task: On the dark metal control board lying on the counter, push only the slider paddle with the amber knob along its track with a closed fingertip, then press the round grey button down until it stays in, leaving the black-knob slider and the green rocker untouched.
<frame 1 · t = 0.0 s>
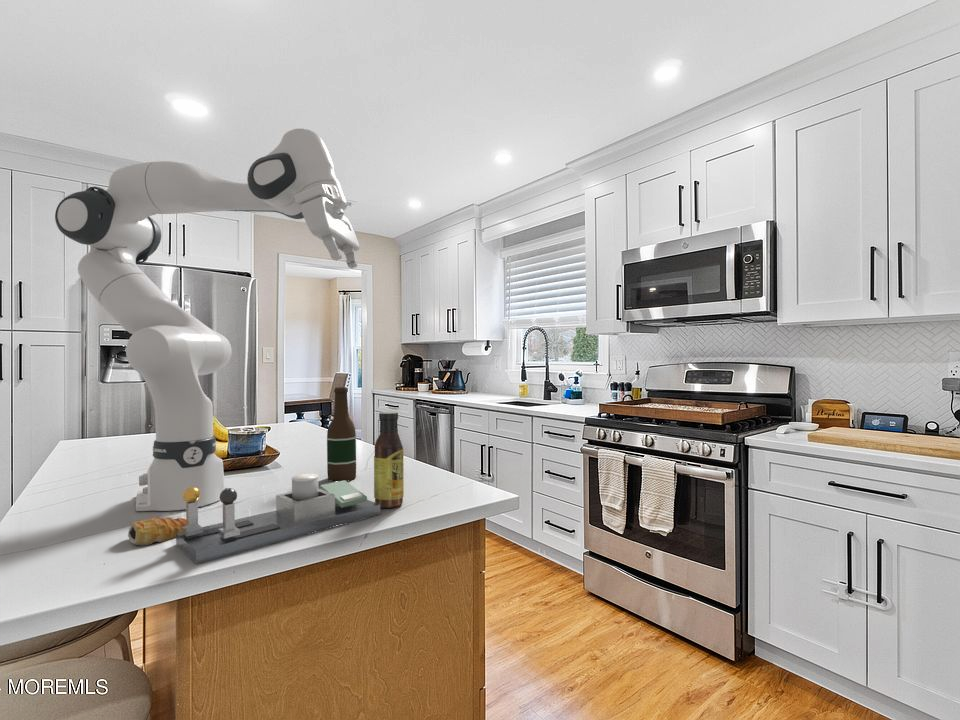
hand: (345, 263, 108), 52 cm above the worktop, tool tilted 20°, fingers open, 8 cm apart
pastry: (156, 539, 90), on the worktop
rocker C: (343, 492, 102), point 4 cm above the worktop, hinge at 12.0°
slider A: (192, 509, 84), point 6 cm above the worktop, slide at 0.0 cm
button B: (305, 488, 96), point 7 cm above the worktop, slide at 0.0 cm
sauce bottle: (389, 505, 108), on the worktop
slider D: (228, 511, 83), point 6 cm above the worktop, slide at 0.0 cm
board: (286, 528, 93), on the worktop
beer bottle: (342, 479, 132), on the worktop
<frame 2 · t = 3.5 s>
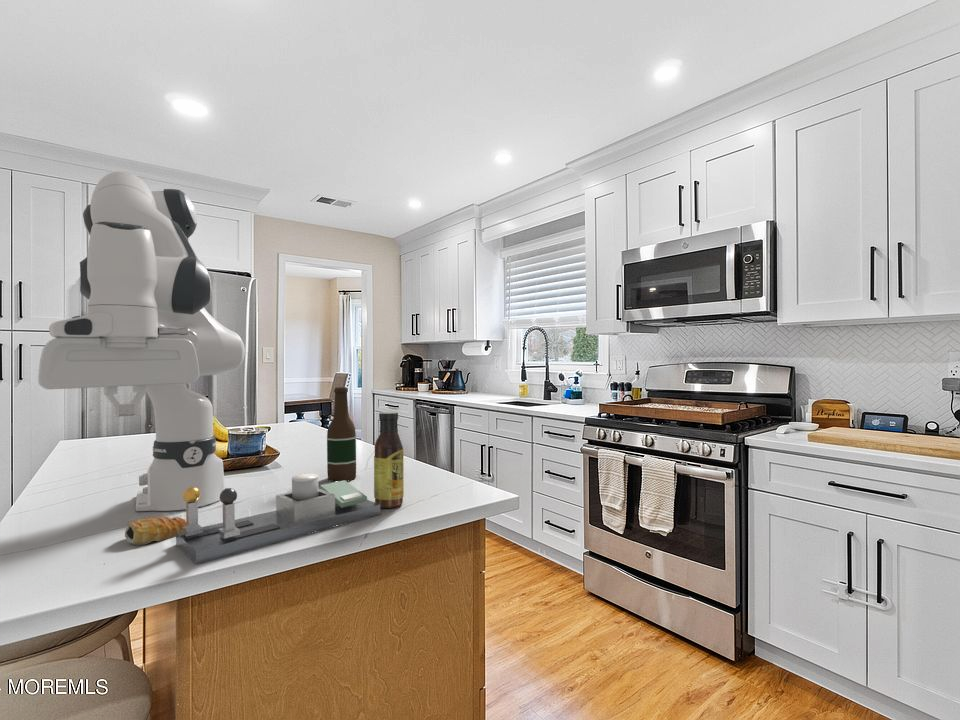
hand: (125, 415, 78), 23 cm above the worktop, tool pointing down, fingers closed
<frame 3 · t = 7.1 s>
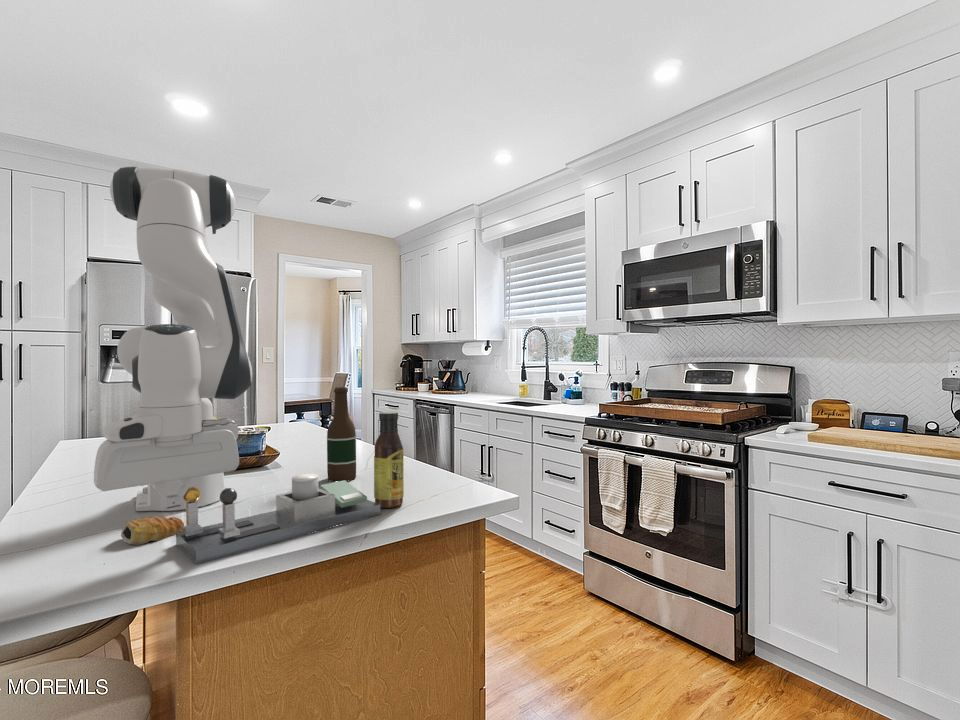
hand: (172, 507, 82), 8 cm above the worktop, tool pointing down, fingers closed
slider A: (192, 509, 84), point 6 cm above the worktop, slide at 0.0 cm, touching gripper
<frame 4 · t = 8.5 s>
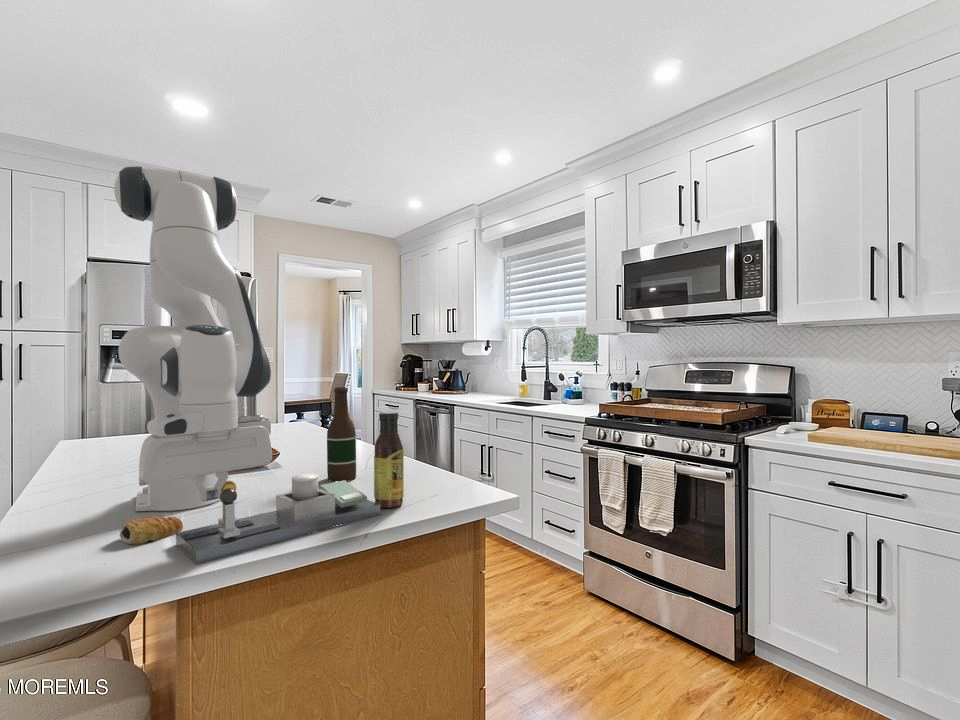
hand: (210, 499, 86), 8 cm above the worktop, tool pointing down, fingers closed
slider A: (228, 502, 88), point 6 cm above the worktop, slide at 5.7 cm, touching gripper
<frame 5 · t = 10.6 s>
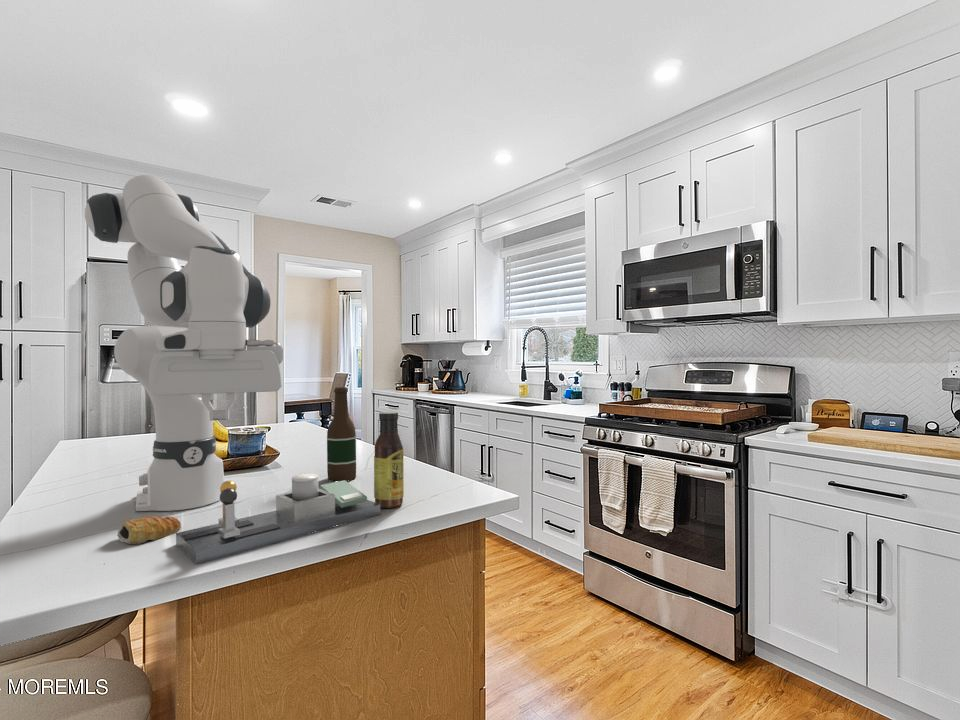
hand: (219, 419, 87), 21 cm above the worktop, tool pointing down, fingers closed
slider A: (228, 502, 88), point 6 cm above the worktop, slide at 5.8 cm
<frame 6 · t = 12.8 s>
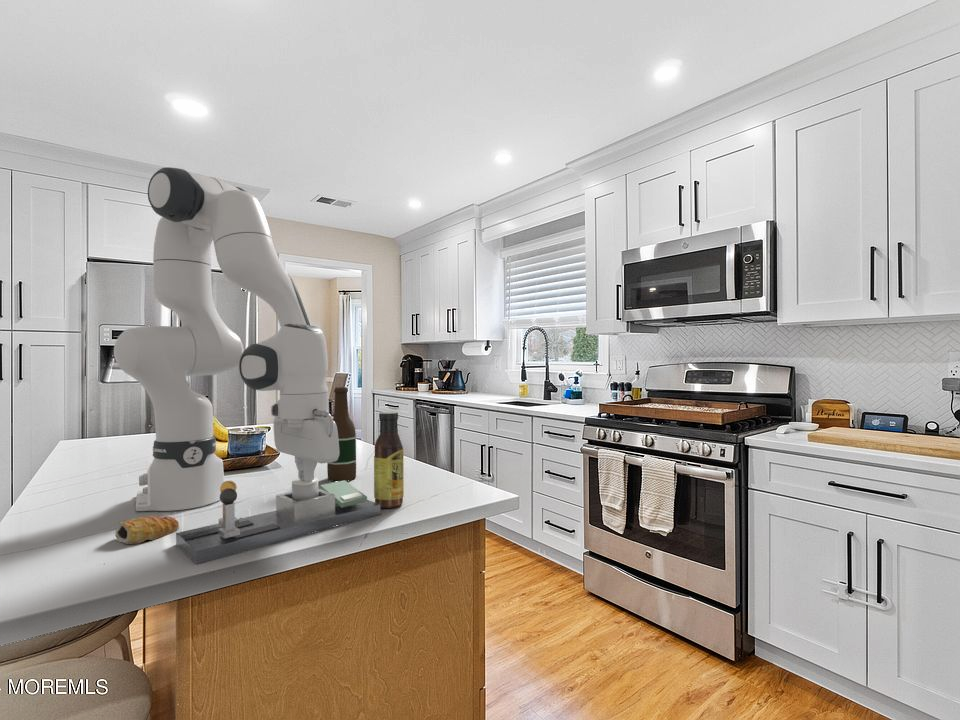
hand: (306, 480, 96), 8 cm above the worktop, tool pointing down, fingers closed, pressing on button B
button B: (305, 491, 96), point 6 cm above the worktop, slide at 0.7 cm, touching gripper
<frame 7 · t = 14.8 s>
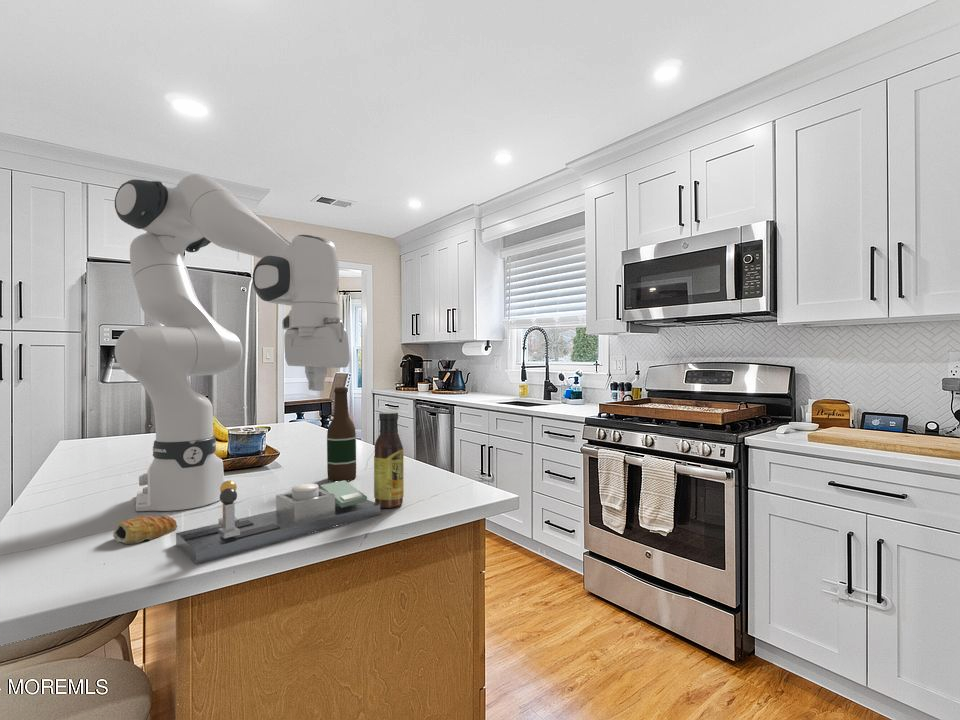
hand: (316, 390, 97), 25 cm above the worktop, tool pointing down, fingers closed
button B: (305, 498, 96), point 5 cm above the worktop, slide at 2.0 cm
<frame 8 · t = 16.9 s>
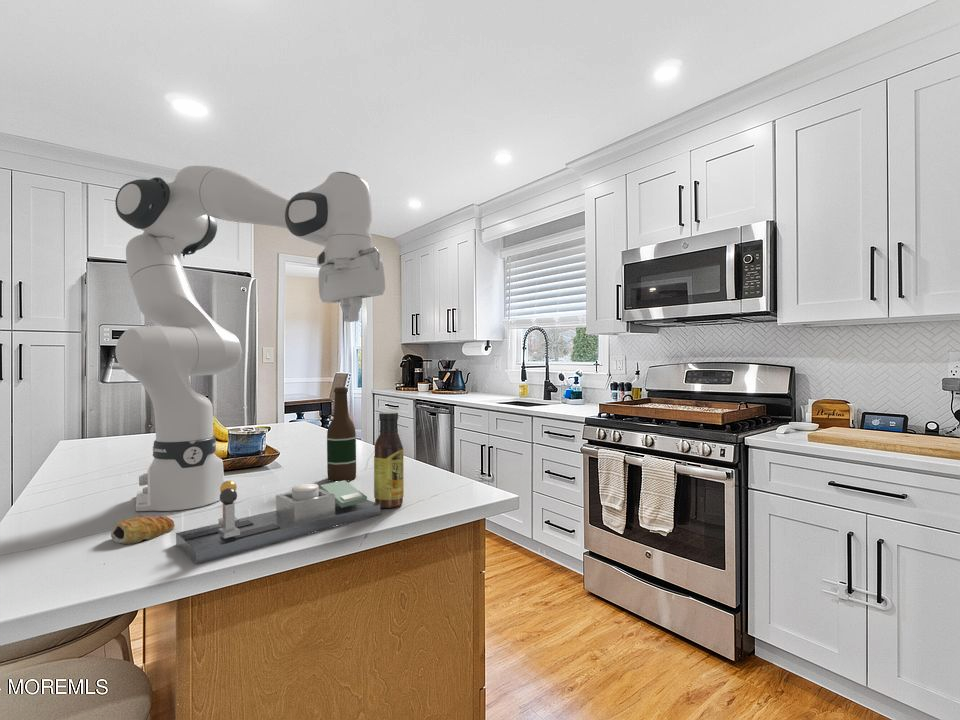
hand: (351, 321, 102), 39 cm above the worktop, tool pointing down, fingers closed
at the end: slider A slide at 5.8 cm; button B slide at 2.0 cm; slider D slide at 0.0 cm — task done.
